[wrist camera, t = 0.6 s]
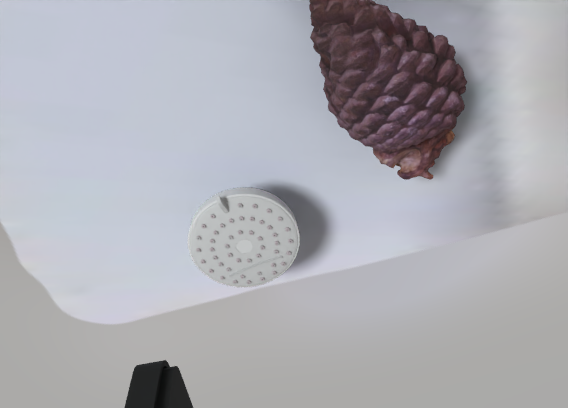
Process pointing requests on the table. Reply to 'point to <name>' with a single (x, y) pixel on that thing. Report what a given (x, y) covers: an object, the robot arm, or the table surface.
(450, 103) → the pine cone
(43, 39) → the table surface
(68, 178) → the table surface
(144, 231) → the table surface
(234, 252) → the showerhead
